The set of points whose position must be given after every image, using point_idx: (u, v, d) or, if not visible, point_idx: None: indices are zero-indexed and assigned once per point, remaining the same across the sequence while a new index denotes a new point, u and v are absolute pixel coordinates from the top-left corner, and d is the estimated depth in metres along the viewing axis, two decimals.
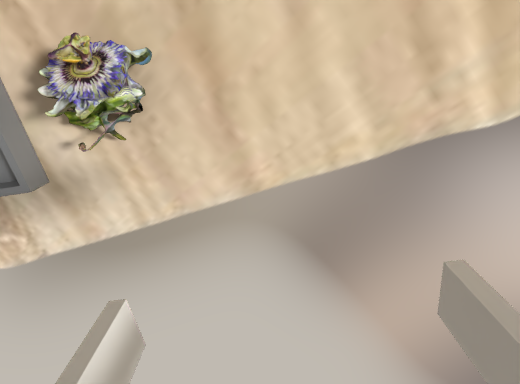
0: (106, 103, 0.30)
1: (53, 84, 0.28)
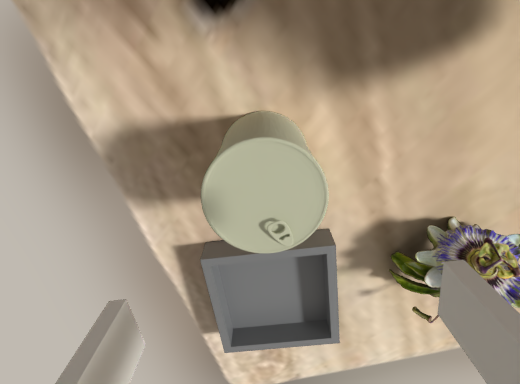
0: None
1: None
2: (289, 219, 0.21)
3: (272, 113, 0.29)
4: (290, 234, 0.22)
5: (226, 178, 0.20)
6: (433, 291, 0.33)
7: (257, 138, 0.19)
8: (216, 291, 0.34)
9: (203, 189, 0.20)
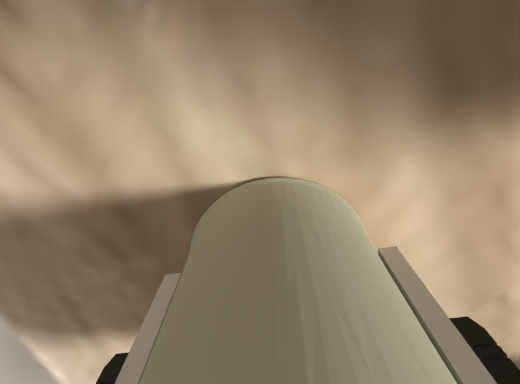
0: None
1: None
2: None
3: (299, 184, 0.13)
4: None
5: None
6: None
7: None
8: None
9: None
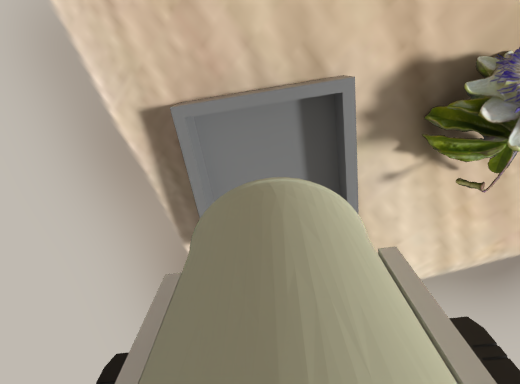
0: None
1: None
2: None
3: (298, 184, 0.13)
4: None
5: None
6: (486, 148, 0.24)
7: None
8: (194, 160, 0.26)
9: None
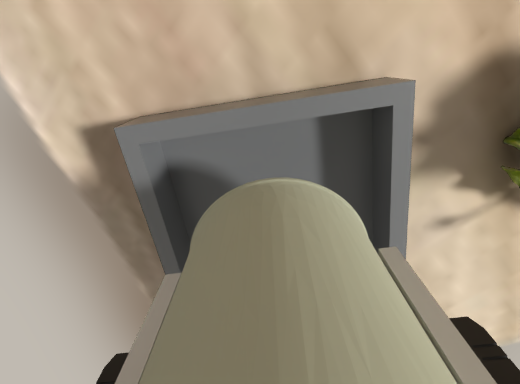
0: None
1: None
2: None
3: (299, 184, 0.13)
4: None
5: None
6: None
7: None
8: (158, 207, 0.17)
9: None
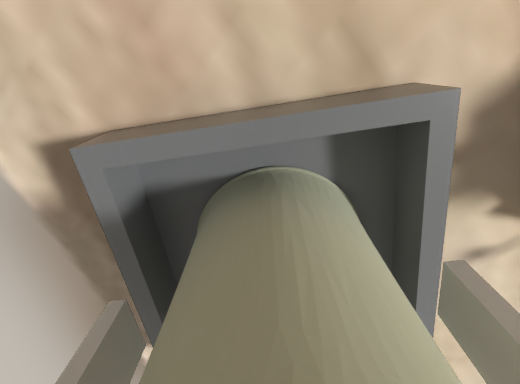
0: None
1: None
2: None
3: (296, 172, 0.14)
4: None
5: None
6: None
7: None
8: (130, 244, 0.13)
9: None
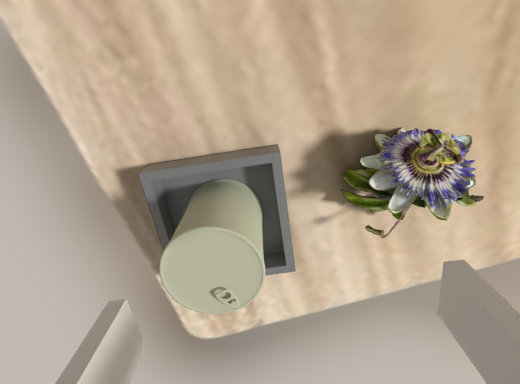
0: None
1: (403, 181, 0.27)
2: (235, 287, 0.26)
3: (229, 181, 0.33)
4: (236, 299, 0.26)
5: (179, 257, 0.24)
6: (384, 204, 0.32)
7: (202, 227, 0.23)
8: (159, 212, 0.32)
9: (161, 266, 0.25)
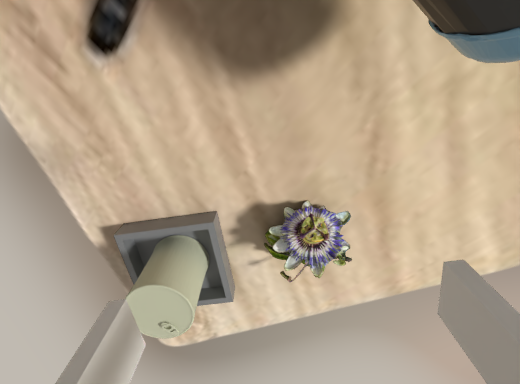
0: None
1: (292, 249, 0.39)
2: (174, 321, 0.38)
3: (181, 237, 0.46)
4: (175, 329, 0.38)
5: (136, 303, 0.37)
6: None
7: (148, 285, 0.36)
8: (130, 260, 0.45)
9: None
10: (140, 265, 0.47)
